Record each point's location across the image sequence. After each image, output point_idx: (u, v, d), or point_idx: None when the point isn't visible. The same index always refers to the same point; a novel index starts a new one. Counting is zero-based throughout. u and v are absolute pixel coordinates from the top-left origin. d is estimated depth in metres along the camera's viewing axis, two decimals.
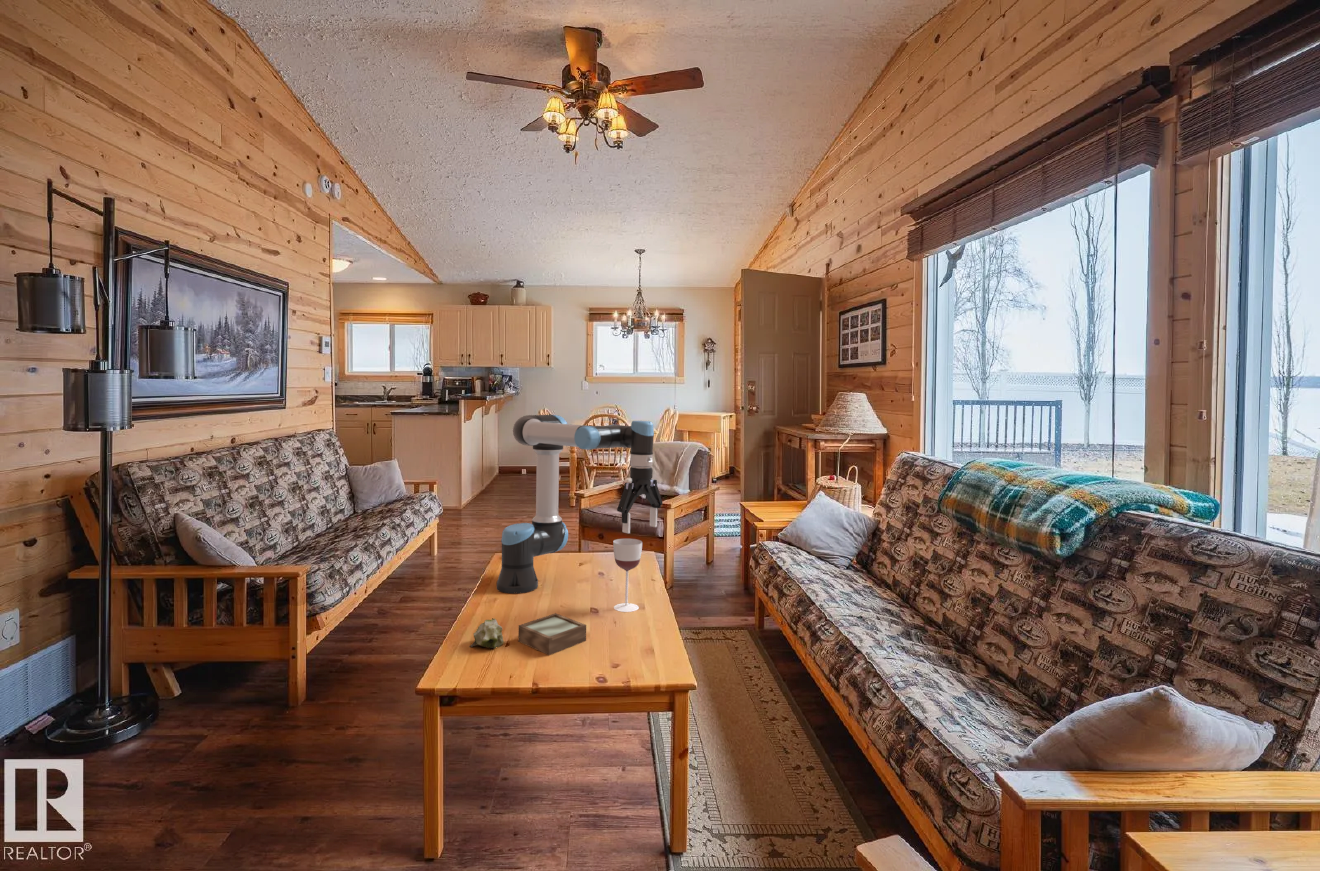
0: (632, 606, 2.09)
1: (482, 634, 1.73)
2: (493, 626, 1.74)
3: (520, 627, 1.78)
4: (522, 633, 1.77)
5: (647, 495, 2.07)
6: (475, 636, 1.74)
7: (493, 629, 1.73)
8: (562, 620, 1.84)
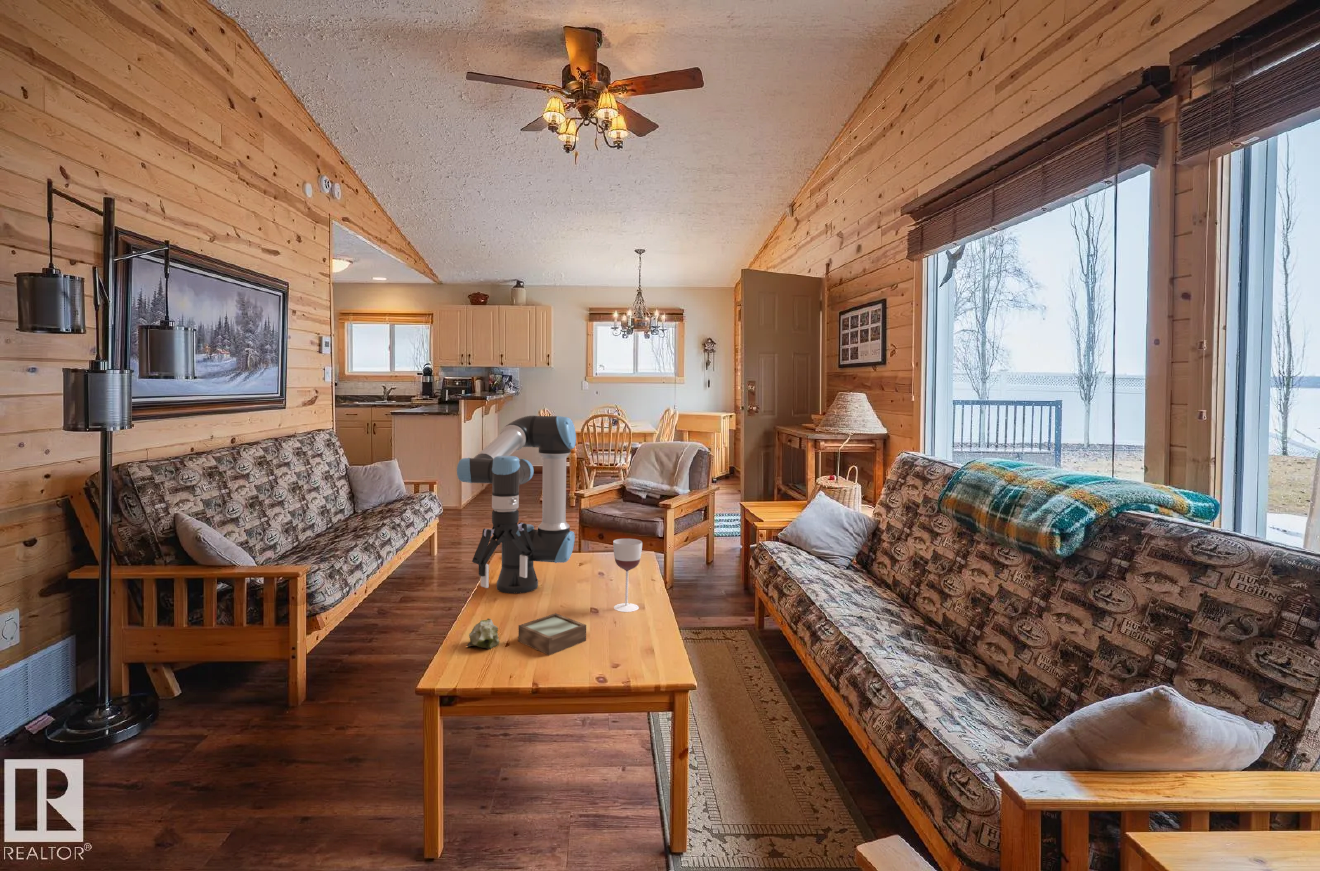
0: (632, 606, 2.09)
1: (478, 634, 1.73)
2: (489, 626, 1.74)
3: (520, 627, 1.78)
4: (522, 633, 1.77)
5: (514, 541, 1.79)
6: (471, 636, 1.74)
7: (489, 629, 1.73)
8: (562, 620, 1.84)
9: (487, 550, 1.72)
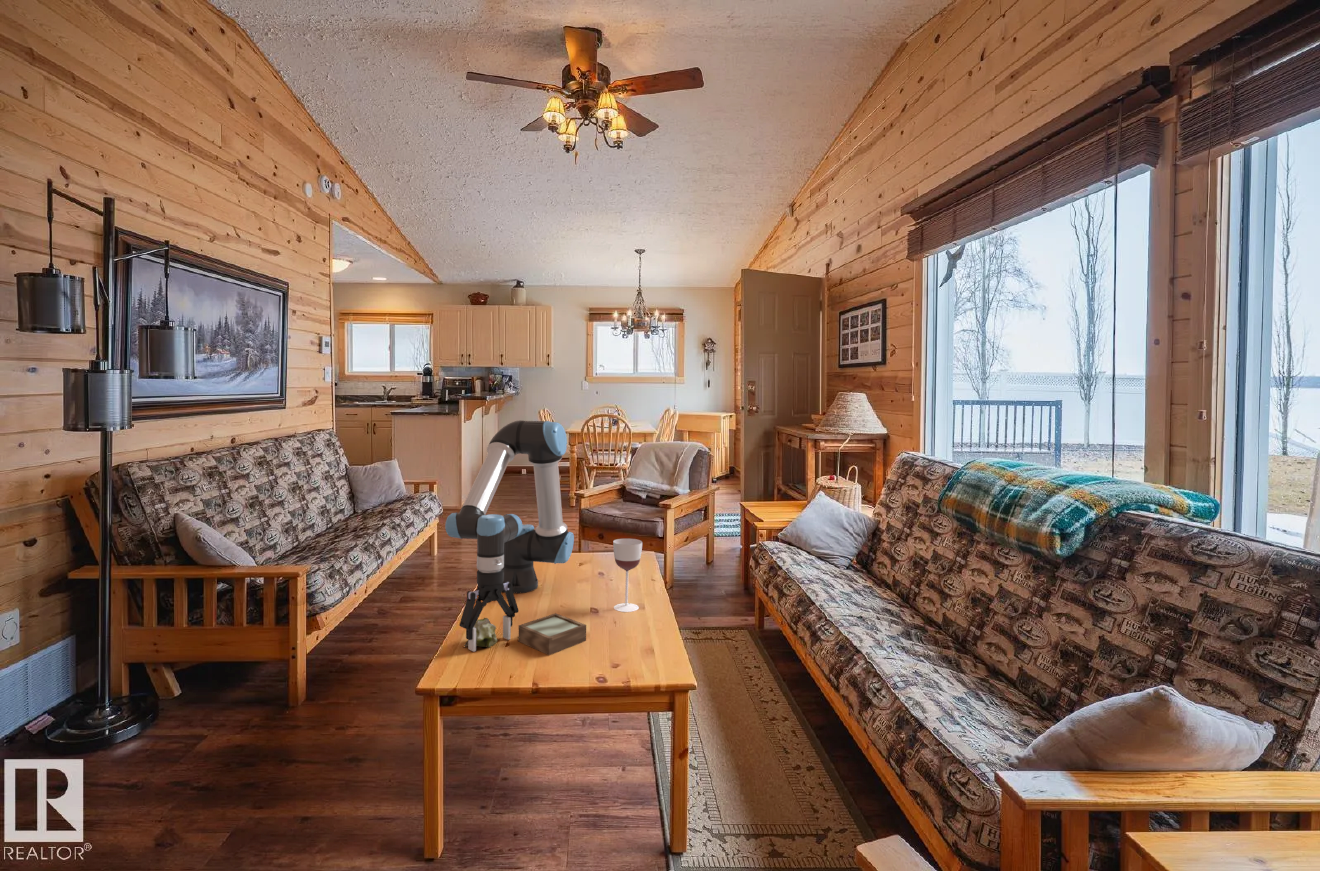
0: (632, 606, 2.09)
1: (476, 634, 1.73)
2: (487, 625, 1.74)
3: (520, 627, 1.78)
4: (522, 633, 1.77)
5: (498, 601, 1.78)
6: None
7: (487, 628, 1.73)
8: (562, 620, 1.84)
9: (473, 613, 1.71)
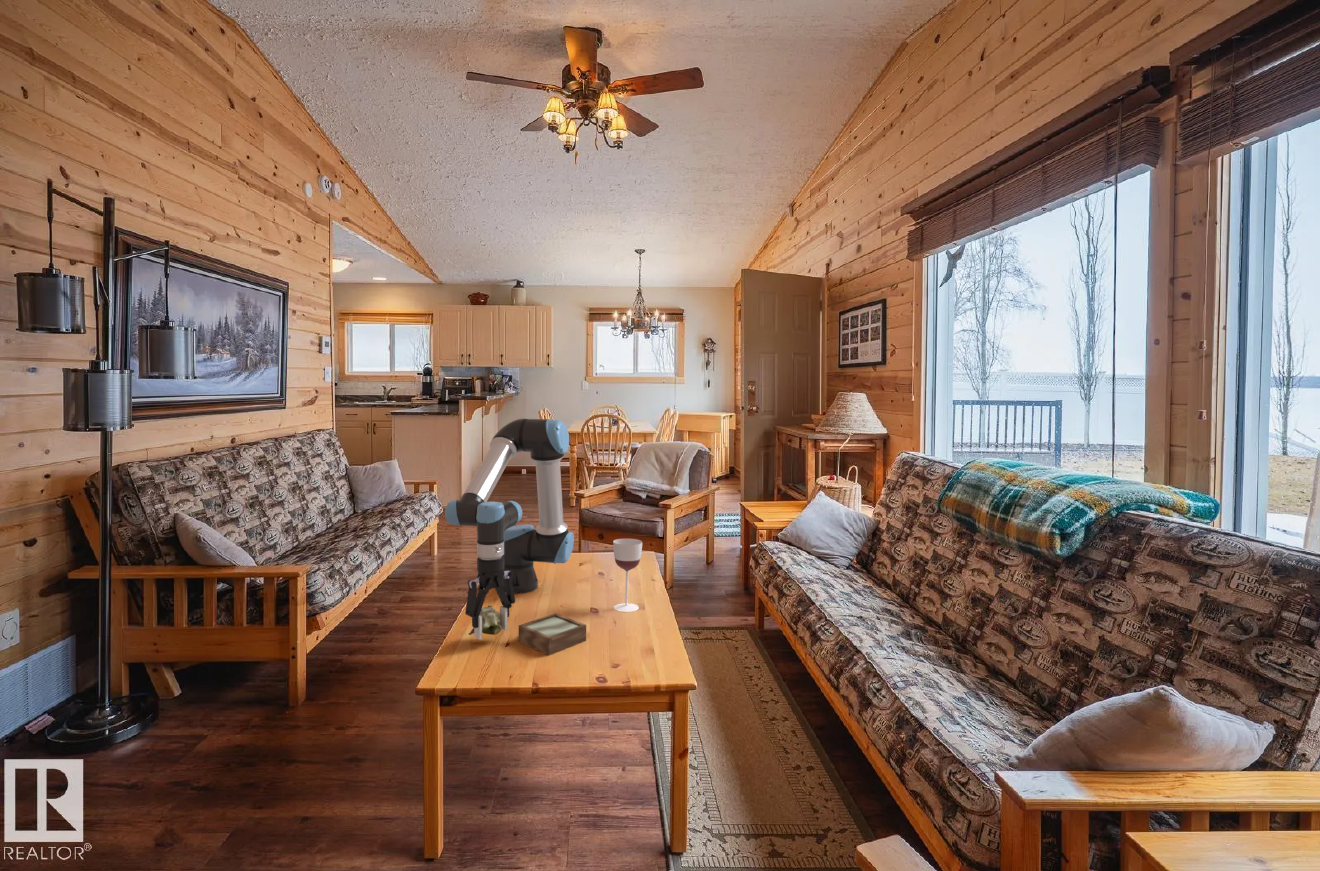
0: (632, 606, 2.09)
1: None
2: (492, 613, 1.76)
3: (520, 627, 1.78)
4: (522, 633, 1.77)
5: (497, 590, 1.77)
6: None
7: (492, 616, 1.75)
8: (562, 620, 1.84)
9: (477, 601, 1.72)
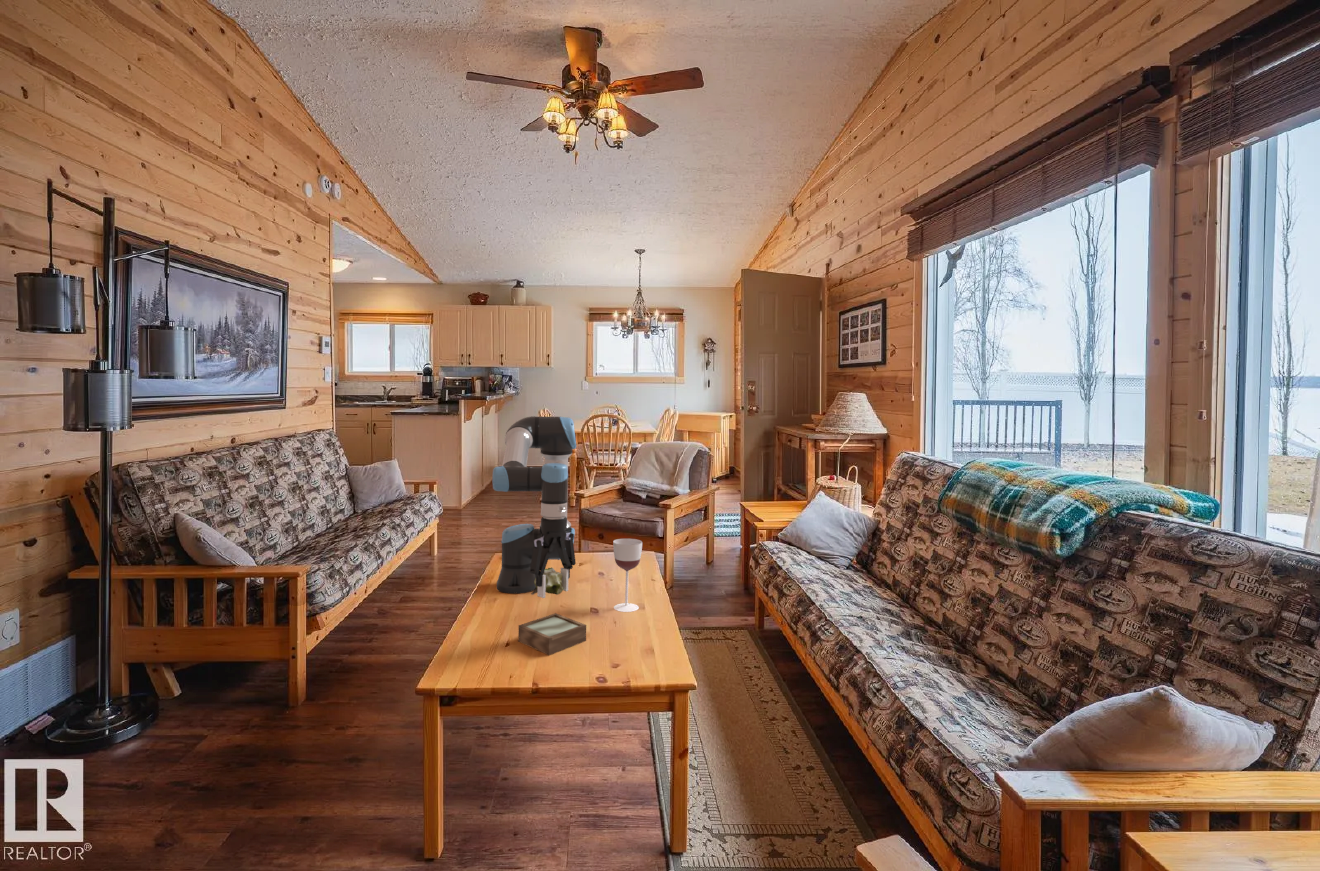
0: (632, 606, 2.09)
1: None
2: (554, 573, 1.78)
3: (520, 627, 1.78)
4: (522, 633, 1.77)
5: (559, 550, 1.80)
6: None
7: (555, 576, 1.78)
8: (562, 620, 1.84)
9: (541, 560, 1.74)
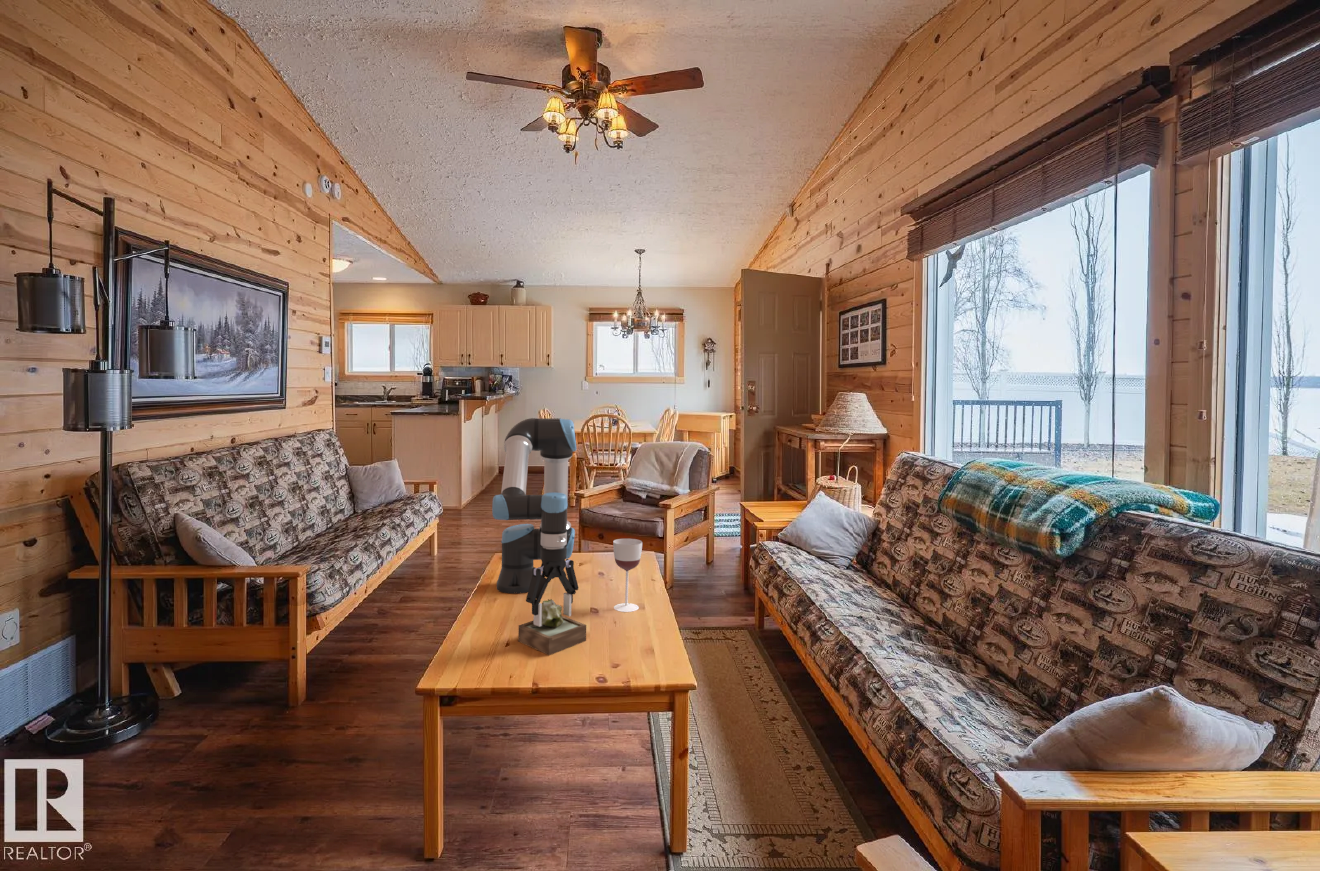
0: (632, 606, 2.09)
1: (544, 614, 1.78)
2: (554, 606, 1.79)
3: (520, 627, 1.78)
4: (522, 633, 1.77)
5: (560, 578, 1.81)
6: None
7: (555, 609, 1.78)
8: None
9: (538, 589, 1.74)
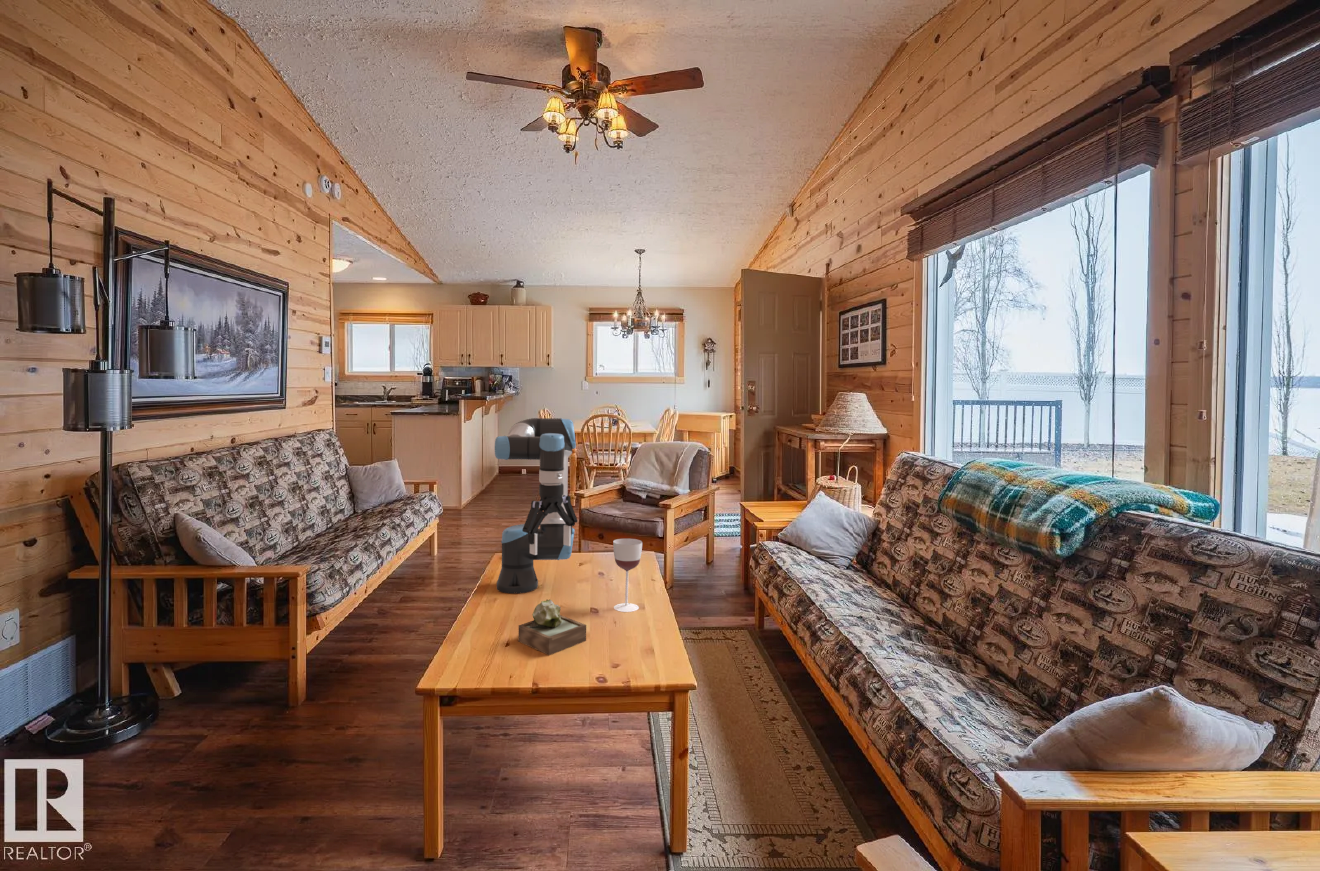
0: (632, 606, 2.09)
1: (542, 614, 1.78)
2: (552, 606, 1.79)
3: (520, 627, 1.78)
4: (522, 633, 1.77)
5: (559, 513, 1.93)
6: (535, 617, 1.78)
7: (553, 609, 1.78)
8: (562, 620, 1.84)
9: (535, 520, 1.86)
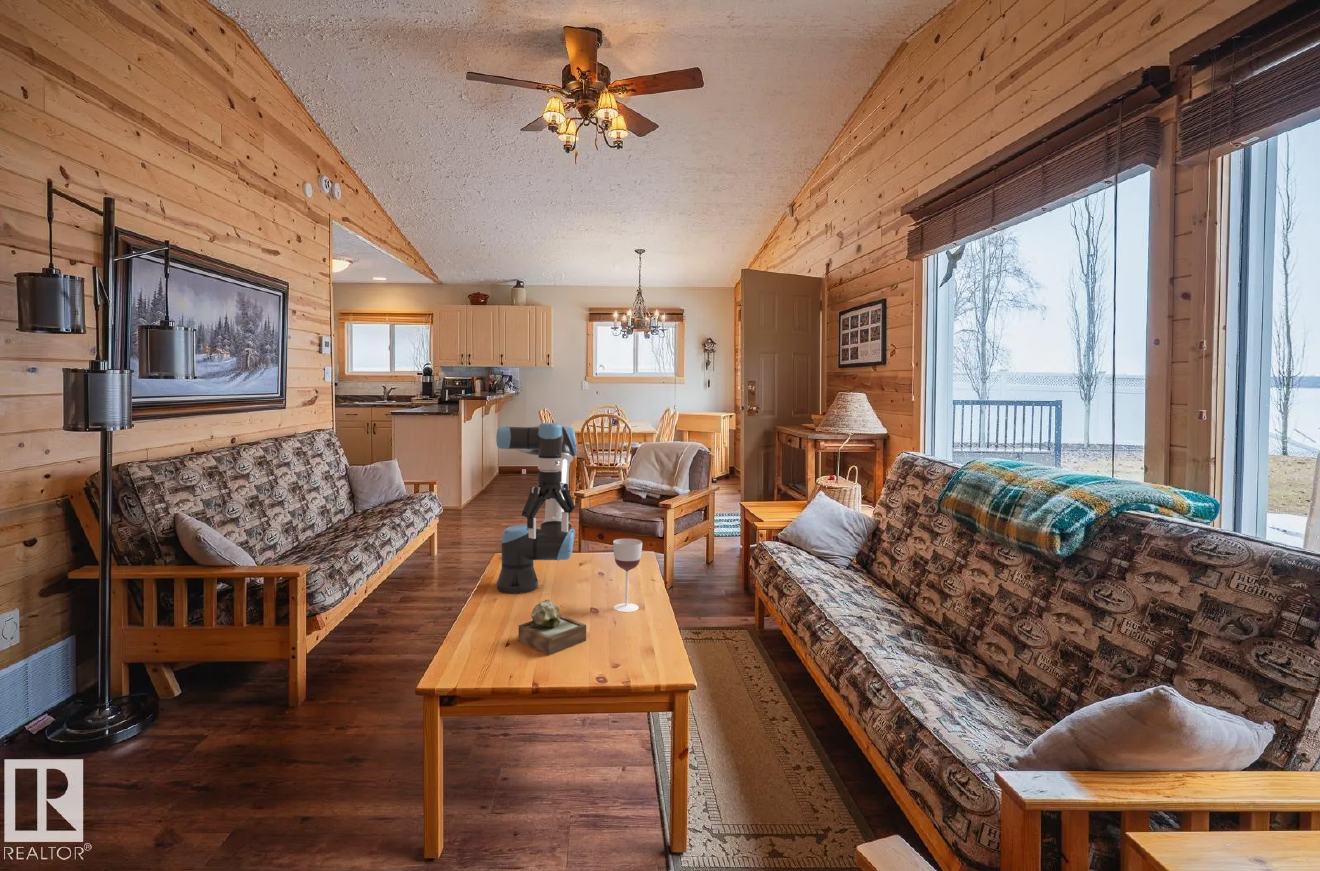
0: (632, 606, 2.09)
1: (541, 614, 1.78)
2: (551, 606, 1.79)
3: (520, 627, 1.78)
4: (522, 633, 1.77)
5: (557, 499, 2.01)
6: (534, 617, 1.78)
7: (552, 609, 1.78)
8: (562, 620, 1.84)
9: (534, 506, 1.94)
